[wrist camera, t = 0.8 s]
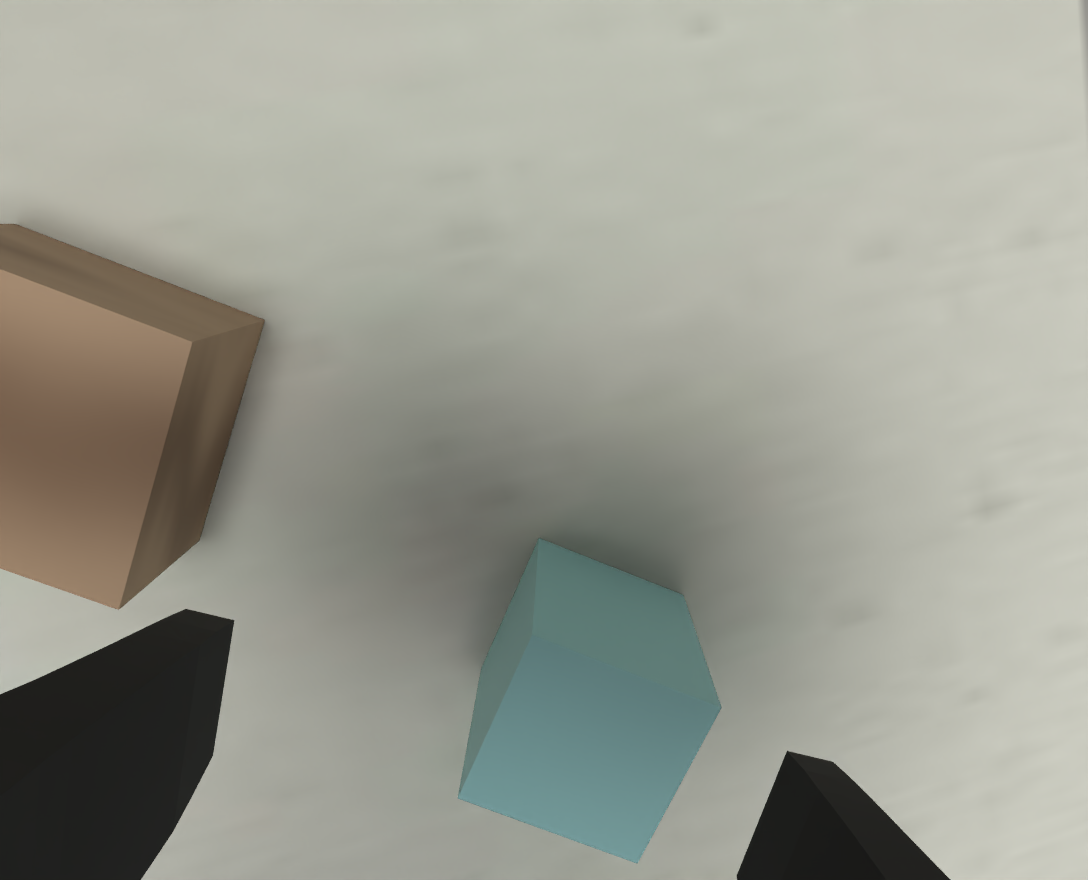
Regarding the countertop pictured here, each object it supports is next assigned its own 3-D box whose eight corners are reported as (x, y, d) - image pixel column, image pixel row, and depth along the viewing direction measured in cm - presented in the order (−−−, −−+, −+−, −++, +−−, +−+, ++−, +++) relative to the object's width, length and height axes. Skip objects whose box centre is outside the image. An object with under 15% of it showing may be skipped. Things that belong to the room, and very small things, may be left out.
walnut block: (202, 537, 20) (118, 609, 16) (-28, 454, 20) (-170, 508, 16) (267, 319, 19) (192, 341, 15) (20, 224, 18) (-123, 222, 14)
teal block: (619, 719, 21) (637, 863, 16) (481, 667, 21) (457, 798, 16) (683, 594, 20) (721, 707, 15) (538, 537, 20) (532, 634, 15)
